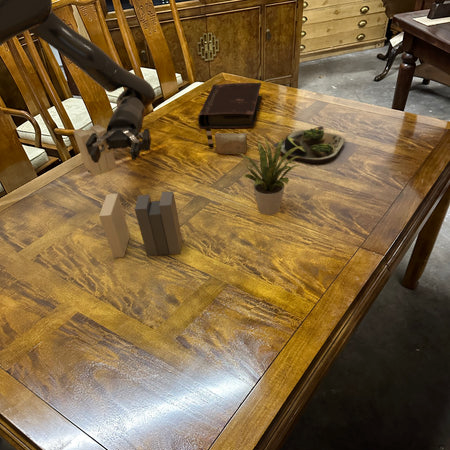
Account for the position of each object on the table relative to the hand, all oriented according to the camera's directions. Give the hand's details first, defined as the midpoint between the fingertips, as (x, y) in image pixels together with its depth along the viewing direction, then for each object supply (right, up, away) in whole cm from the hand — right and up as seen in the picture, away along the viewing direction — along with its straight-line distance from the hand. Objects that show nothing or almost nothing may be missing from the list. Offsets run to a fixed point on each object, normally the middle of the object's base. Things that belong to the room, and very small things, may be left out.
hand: (113, 157), depth 91 cm
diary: (+27, +32, +50) cm, 65 cm away
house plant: (+36, -10, +9) cm, 38 cm away
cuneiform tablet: (+25, +12, +31) cm, 42 cm away
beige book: (+1, -19, +3) cm, 19 cm away
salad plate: (+48, +11, +28) cm, 57 cm away
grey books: (+11, -20, +2) cm, 22 cm away
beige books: (-11, +7, +29) cm, 32 cm away
